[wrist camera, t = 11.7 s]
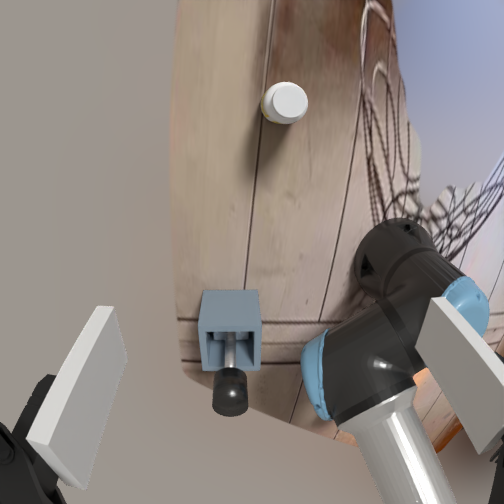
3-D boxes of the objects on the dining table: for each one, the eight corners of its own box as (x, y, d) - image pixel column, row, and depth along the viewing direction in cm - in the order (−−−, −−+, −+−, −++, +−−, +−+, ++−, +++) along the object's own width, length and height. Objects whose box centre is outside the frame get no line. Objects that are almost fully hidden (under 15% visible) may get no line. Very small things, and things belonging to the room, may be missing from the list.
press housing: (257, 289, 54) (261, 325, 45) (256, 332, 57) (260, 370, 48) (203, 290, 53) (197, 325, 44) (206, 332, 57) (202, 370, 48)
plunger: (248, 307, 52) (254, 391, 35) (248, 335, 54) (253, 419, 37) (212, 308, 51) (204, 391, 35) (214, 336, 54) (208, 419, 37)
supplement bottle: (305, 104, 42) (323, 101, 33) (280, 130, 44) (292, 134, 35) (276, 79, 41) (287, 70, 32) (252, 106, 42) (256, 103, 33)
